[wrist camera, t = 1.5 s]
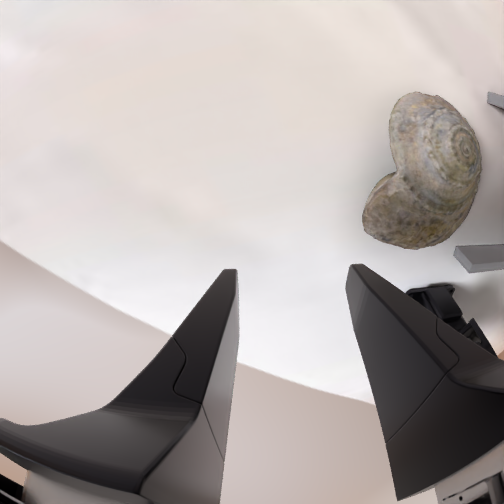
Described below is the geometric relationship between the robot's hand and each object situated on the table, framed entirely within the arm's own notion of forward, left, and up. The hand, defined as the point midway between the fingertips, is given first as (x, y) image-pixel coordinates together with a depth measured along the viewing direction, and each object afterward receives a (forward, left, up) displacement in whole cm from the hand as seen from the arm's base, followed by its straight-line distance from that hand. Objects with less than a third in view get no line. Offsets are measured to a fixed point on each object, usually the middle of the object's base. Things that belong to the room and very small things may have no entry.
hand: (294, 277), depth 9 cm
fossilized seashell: (+1, -11, -12) cm, 16 cm away
